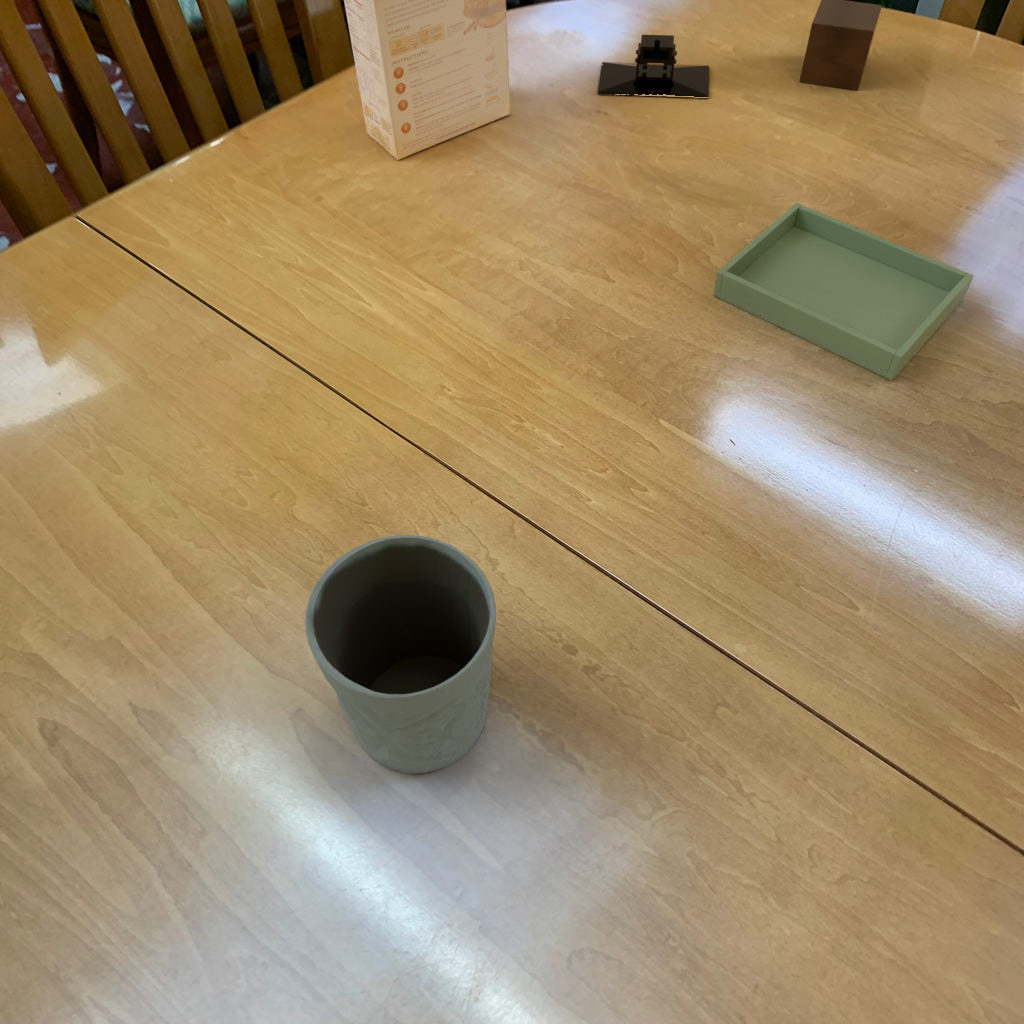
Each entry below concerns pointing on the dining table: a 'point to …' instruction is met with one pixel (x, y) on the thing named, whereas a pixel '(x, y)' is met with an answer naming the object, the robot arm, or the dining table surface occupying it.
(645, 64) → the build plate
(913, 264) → the tray
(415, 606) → the grey green cup
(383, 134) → the coffeecake box
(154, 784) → the dining table surface
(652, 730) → the dining table surface
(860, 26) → the base block
